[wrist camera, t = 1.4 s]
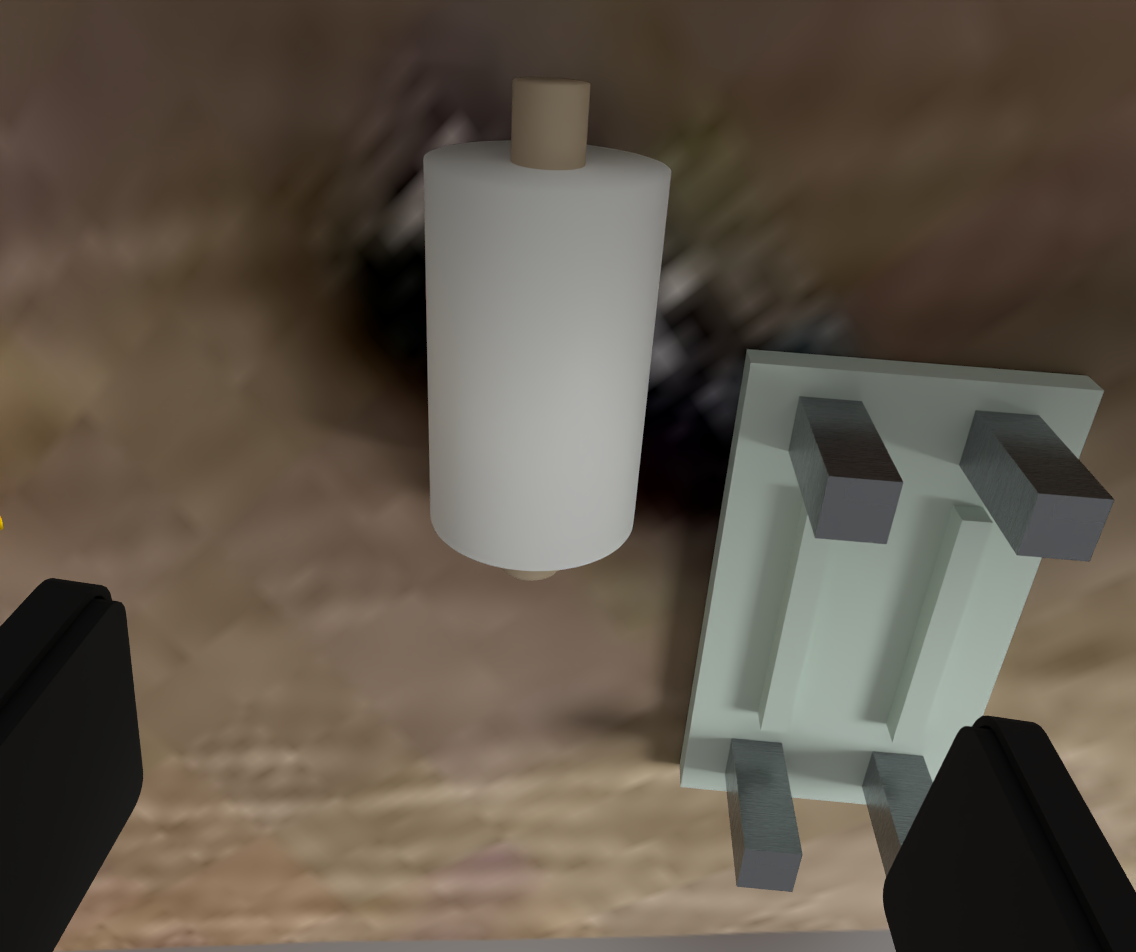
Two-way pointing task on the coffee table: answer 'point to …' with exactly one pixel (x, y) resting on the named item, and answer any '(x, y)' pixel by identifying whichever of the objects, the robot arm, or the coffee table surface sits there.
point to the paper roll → (539, 334)
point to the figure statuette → (1, 524)
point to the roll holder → (872, 581)
